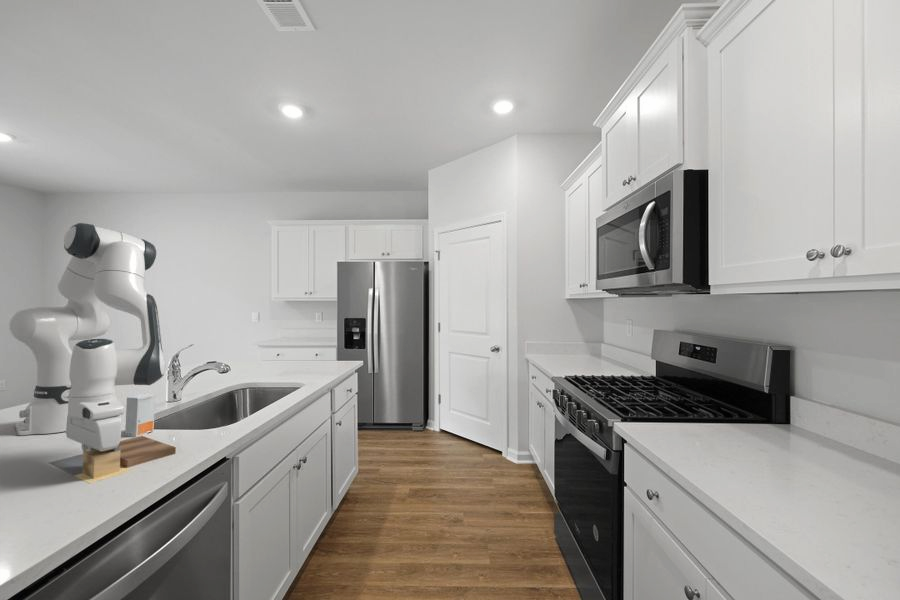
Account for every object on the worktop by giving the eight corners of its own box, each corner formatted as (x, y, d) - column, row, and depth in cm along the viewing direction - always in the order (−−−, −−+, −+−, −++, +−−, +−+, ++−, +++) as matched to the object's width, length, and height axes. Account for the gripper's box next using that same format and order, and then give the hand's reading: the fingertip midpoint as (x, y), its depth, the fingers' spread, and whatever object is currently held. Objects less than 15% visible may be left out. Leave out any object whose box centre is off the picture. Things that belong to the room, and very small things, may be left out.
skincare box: (136, 437, 121) (137, 398, 121) (124, 436, 122) (125, 397, 122) (154, 431, 127) (155, 394, 127) (143, 430, 128) (144, 393, 128)
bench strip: (48, 463, 101) (48, 462, 101) (88, 453, 108) (88, 452, 108) (89, 484, 90) (89, 483, 90) (131, 472, 97) (131, 470, 97)
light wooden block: (82, 473, 95) (83, 447, 95) (108, 465, 99) (109, 441, 99) (93, 478, 92) (94, 452, 92) (119, 471, 96) (120, 446, 97)
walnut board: (94, 454, 107) (94, 447, 107) (141, 442, 117) (141, 435, 117) (127, 468, 99) (127, 460, 99) (175, 454, 108) (175, 447, 108)
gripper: (58, 402, 101) (56, 457, 101) (95, 414, 91) (93, 475, 91) (90, 397, 106) (88, 449, 106) (127, 408, 97) (126, 465, 96)
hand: (90, 461), depth 98 cm, fingers closed
